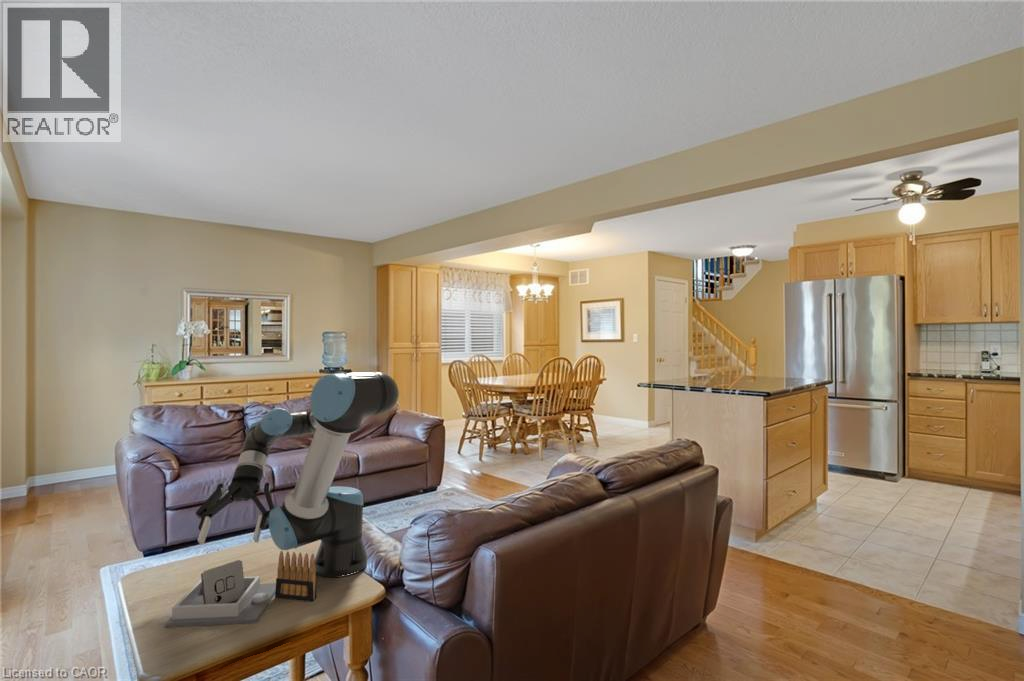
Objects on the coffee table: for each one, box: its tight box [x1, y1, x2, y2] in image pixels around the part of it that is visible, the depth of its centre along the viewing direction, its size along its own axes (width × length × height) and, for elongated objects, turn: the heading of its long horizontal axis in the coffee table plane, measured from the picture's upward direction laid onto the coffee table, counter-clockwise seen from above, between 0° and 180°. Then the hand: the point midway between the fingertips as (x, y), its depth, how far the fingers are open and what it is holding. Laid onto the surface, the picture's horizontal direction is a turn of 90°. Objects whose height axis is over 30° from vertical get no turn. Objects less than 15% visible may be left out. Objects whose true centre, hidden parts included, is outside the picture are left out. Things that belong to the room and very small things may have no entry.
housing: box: [164, 575, 276, 628], centre depth 127 cm, size 20×18×4 cm
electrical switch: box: [200, 559, 245, 605], centre depth 127 cm, size 9×5×9 cm, turn 144°
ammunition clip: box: [274, 550, 317, 603], centre depth 131 cm, size 11×2×12 cm, turn 82°
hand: (228, 541), depth 133 cm, fingers open, 13 cm apart
